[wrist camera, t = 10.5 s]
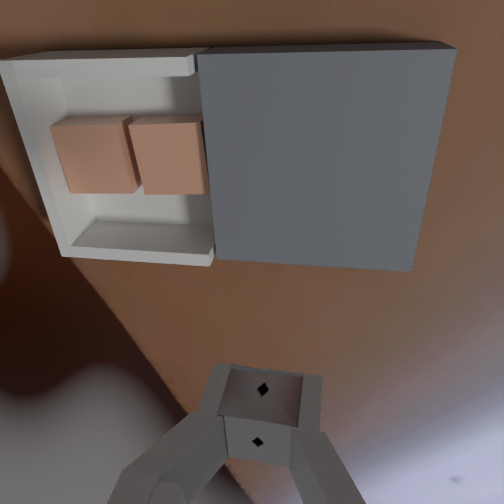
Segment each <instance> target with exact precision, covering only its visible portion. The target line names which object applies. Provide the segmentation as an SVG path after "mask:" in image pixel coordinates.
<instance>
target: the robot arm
mask: <svg viewBox="0 0 504 504" xmlns="http://www.w3.org/2000/svg"><path fill="white" fill-rule="evenodd" d="M322 381H323V379H322V376H315V375H307V374H304V375H303V373H294V372H286V371H277V370H269V369H268V370H264V369H257V368H251V367H245V366H239V365H232V364H225V363H218V362H216V363H215V365H214V366H213V368H212V371H211V374H210V377H209V379H208V382H207V385H206V388H205V391H204V394H203V397H202V400H201V403H200V406H199V409H198V412H191V413H190V414H189V415H188V416H186V417H185V418H184V419H183V420H182V421H180V422H179V423H178V424H177V425H176V426H175V427H173V428H172V429H171V430H170V431H169V432H167V433H166V434H165V435H164V436H163V437H162V438H160V439H159V440H158V441H157V442H156V443H154V444H153V445H152V446H151V447H150V448H149V449H147V450H146V451H145V452H144V453H142V455H140V456H139V457H138V458H137V459H135V460H134V461H133V462H132V463H131V464H130V465H128V466H127V467H126V468H125V469H124V470H122V472H121V474H120V477H119V479H118V481H117V483H116V485H115V487H114V490H113V492H112V494H111V496H110V498H109V501H108V503H107V504H189V503H190V502H191V501H192V500H193V499H194V497H195V496H196V495H197V494H198V493H199V492H200V490H201V489H202V488H203V487H204V486H205V484H207V482H208V481H209V480H210V479H211V478H212V477H213V475H214V474H215V473H216V472H217V471H218V470H219V469H220V467H221V466H222V465H223V464H224V463H225V462H226V461H227V459H228V457H231V458H238V459H245V460H252V461H259V462H264V463H269V464H274V465H279V466H284V467H289V468H290V471H291V474H292V476H293V479H294V481H295V484H296V486H297V489H298V491H299V494H300V496H301V499H302V501H303V504H366V503H365V501H364V499H363V498H362V496H361V494H360V492H359V491H358V489H357V487H356V485H355V484H354V482H353V480H352V478H351V477H350V475H349V473H348V471H347V470H346V468H345V466H344V464H343V463H342V461H341V459H340V457H339V456H338V454H337V452H336V450H335V449H334V447H333V445H332V443H331V442H330V440H329V438H328V436H327V435H326V433H325V432H321V431H320V415H321V398H322Z"/></svg>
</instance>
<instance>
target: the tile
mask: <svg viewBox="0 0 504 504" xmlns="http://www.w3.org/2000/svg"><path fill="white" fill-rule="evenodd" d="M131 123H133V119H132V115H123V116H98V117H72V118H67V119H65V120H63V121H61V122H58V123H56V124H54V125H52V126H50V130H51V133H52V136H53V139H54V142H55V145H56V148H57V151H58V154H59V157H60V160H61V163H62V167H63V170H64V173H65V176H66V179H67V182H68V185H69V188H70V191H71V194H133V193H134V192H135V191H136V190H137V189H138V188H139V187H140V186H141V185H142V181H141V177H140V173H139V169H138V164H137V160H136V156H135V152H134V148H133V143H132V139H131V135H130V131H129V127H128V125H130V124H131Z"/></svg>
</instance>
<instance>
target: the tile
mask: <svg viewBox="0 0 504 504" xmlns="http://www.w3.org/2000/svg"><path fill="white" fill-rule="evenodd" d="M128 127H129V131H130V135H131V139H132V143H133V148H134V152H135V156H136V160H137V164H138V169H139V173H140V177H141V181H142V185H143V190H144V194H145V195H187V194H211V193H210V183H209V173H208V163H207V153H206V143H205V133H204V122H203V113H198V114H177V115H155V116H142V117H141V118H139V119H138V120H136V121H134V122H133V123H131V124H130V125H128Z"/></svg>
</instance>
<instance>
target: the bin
mask: <svg viewBox="0 0 504 504" xmlns="http://www.w3.org/2000/svg"><path fill="white" fill-rule="evenodd" d="M209 49H210V47H197V48H156V49H115V50H74V51H44V52H39V53H33V54H28V55H23V56H18V57H13V58H8V59H3V60H0V74H1V77H2V80H3V83H4V86H5V89H6V92H7V95H8V98H9V101H10V104H11V107H12V110H13V113H14V116H15V119H16V122H17V125H18V128H19V131H20V134H21V137H22V140H23V143H24V146H25V148H26V151H27V154H28V157H29V160H30V163H31V166H32V169H33V172H34V175H35V178H36V181H37V184H38V187H39V190H40V193H41V196H42V199H43V202H44V205H45V208H46V211H47V214H48V217H49V220H50V223H51V226H52V229H53V232H54V235H55V238H56V241H57V243H58V246H59V249H60V252H61V255H62V256H64V257H79V258H93V259H108V260H123V261H138V262H152V263H167V264H182V265H197V266H210V265H211V263H212V260H213V258H214V256H215V254H216V244H215V234H214V224H213V214H212V204H211V194H187V195H145V194H144V190H143V185H141V186H140V187H139V188H138V189H137V190H136V191H135V192H134V193H133V194H71V191H70V188H69V185H68V182H67V179H66V176H65V173H64V170H63V167H62V163H61V160H60V157H59V154H58V151H57V148H56V145H55V142H54V139H53V136H52V133H51V130H50V126H52V125H54V124H56V123H58V122H61V121H63V120H65V119H67V118H72V117H98V116H123V115H132V119H133V122H134V121H136V120H138V119H139V118H141V117H142V116H155V115H177V114H198V113H203V112H202V102H201V92H200V82H199V72H198V62H197V54H199V53H202V52H204V51H206V50H209Z"/></svg>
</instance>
